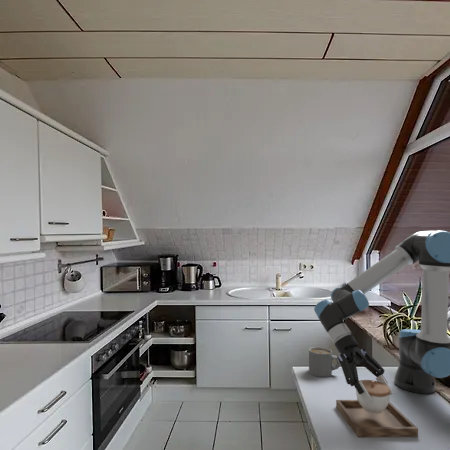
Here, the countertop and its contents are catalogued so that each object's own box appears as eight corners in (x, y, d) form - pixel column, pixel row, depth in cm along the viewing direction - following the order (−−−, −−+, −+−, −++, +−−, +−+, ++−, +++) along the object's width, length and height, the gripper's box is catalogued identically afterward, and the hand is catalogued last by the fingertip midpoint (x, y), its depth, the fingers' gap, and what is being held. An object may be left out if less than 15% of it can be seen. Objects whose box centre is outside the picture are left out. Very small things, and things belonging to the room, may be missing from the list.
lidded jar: (393, 419, 114) (394, 390, 114) (358, 415, 116) (358, 386, 116) (385, 403, 124) (385, 376, 124) (353, 400, 126) (353, 373, 127)
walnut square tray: (387, 406, 130) (387, 399, 130) (417, 436, 111) (418, 428, 111) (336, 406, 129) (336, 399, 129) (358, 437, 110) (358, 428, 110)
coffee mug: (306, 374, 159) (306, 351, 159) (312, 366, 167) (312, 345, 167) (337, 380, 152) (337, 357, 152) (341, 372, 161) (341, 350, 161)
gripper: (356, 339, 140) (393, 395, 126) (315, 349, 127) (350, 412, 114) (368, 329, 135) (408, 386, 122) (327, 338, 123) (365, 402, 109)
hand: (380, 399), depth 118 cm, fingers closed on lidded jar, 11 cm apart
